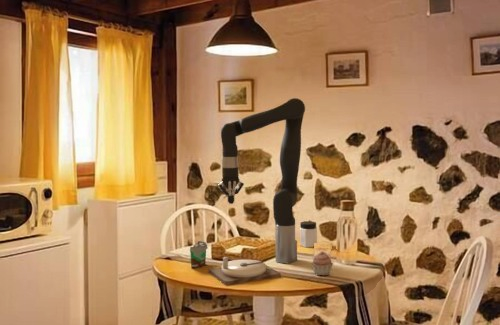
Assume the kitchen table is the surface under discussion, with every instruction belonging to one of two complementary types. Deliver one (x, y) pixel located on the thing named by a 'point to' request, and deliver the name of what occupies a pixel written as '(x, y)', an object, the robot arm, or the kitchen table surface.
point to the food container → (198, 255)
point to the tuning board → (234, 280)
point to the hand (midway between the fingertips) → (230, 203)
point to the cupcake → (322, 264)
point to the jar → (308, 234)
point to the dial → (243, 268)
